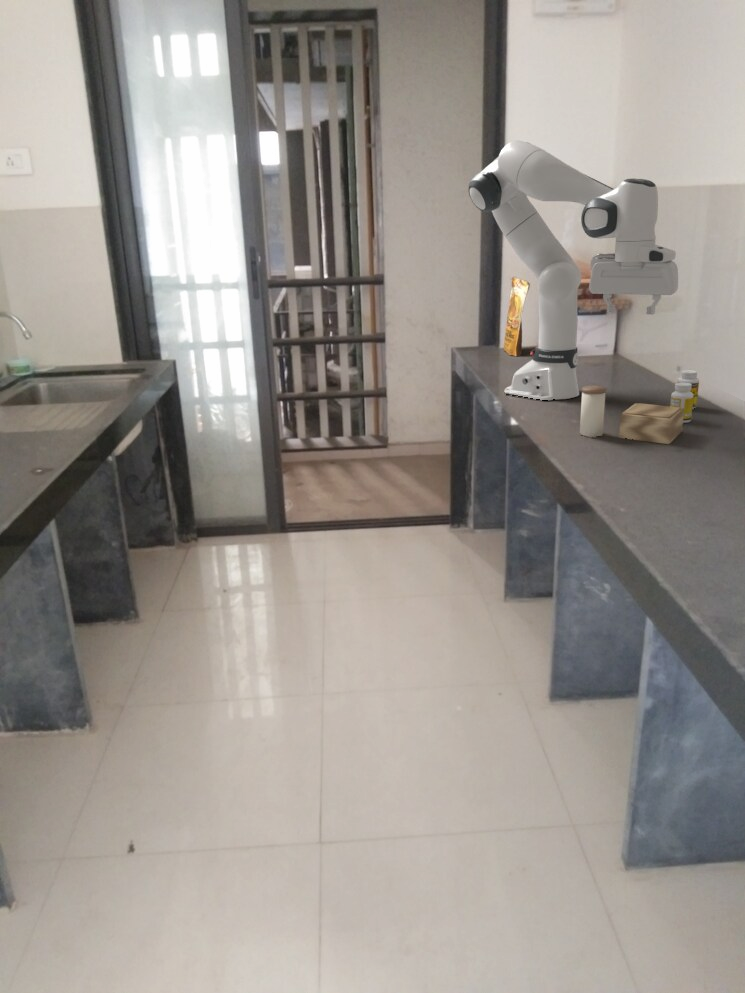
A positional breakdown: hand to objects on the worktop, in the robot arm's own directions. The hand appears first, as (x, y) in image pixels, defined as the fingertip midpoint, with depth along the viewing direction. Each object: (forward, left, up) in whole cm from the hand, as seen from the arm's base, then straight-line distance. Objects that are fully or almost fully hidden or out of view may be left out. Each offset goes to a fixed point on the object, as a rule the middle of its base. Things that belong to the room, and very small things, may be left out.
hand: (630, 313), depth 186 cm
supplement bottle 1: (+8, +30, -30) cm, 43 cm away
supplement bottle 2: (+10, +16, -30) cm, 35 cm away
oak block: (+7, 0, -29) cm, 30 cm away
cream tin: (-6, -6, -29) cm, 31 cm away
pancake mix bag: (-70, +88, -30) cm, 116 cm away
